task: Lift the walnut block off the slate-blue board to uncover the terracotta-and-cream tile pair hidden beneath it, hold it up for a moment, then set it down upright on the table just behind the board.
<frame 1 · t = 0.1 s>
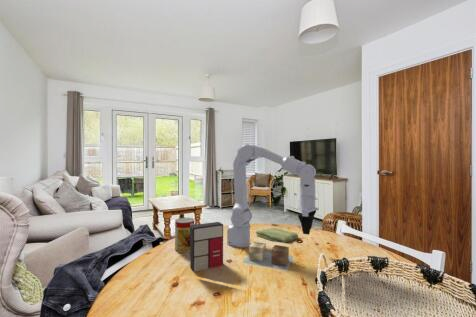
hand: (307, 231, 90), 10 cm above the table, tool pointing down, fingers open, 7 cm apart
canned food: (184, 248, 98), on the table
washcloth: (276, 238, 113), on the table
grey toy cabinet: (206, 269, 80), on the table
code board: (268, 261, 86), on the table
walnut block: (280, 262, 83), point 1 cm above the table, touching code board
birch block: (257, 258, 87), point 1 cm above the table, touching code board
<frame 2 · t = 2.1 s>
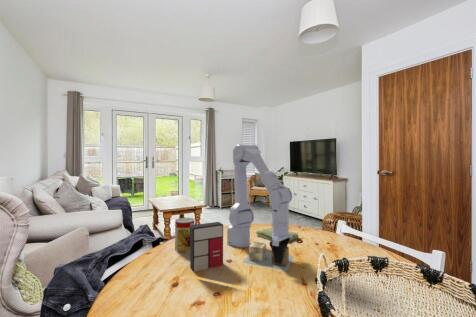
hand: (280, 259, 83), 2 cm above the table, tool pointing down, fingers closed on walnut block, 5 cm apart
walnut block: (280, 262, 83), point 1 cm above the table, touching code board, gripper
everything else where it was.
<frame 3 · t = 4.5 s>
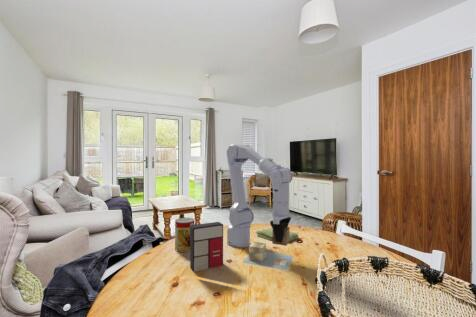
hand: (280, 239, 84), 9 cm above the table, tool pointing down, fingers closed on walnut block, 5 cm apart
walnut block: (281, 242, 84), point 8 cm above the table, touching gripper
everything else where it was.
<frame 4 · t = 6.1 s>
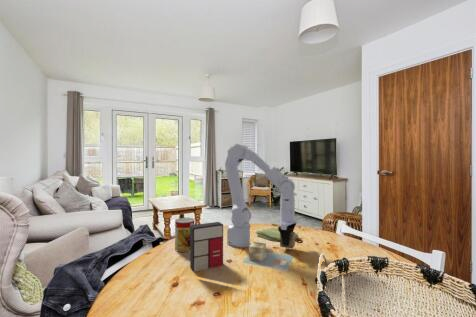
hand: (287, 242, 95), 4 cm above the table, tool pointing down, fingers closed on walnut block, 5 cm apart
walnut block: (287, 245, 95), point 3 cm above the table, touching gripper
everything else where it was.
when the fingers open (2 cm above the table, at t = 7.3 s): walnut block drops 1 cm, on the table.
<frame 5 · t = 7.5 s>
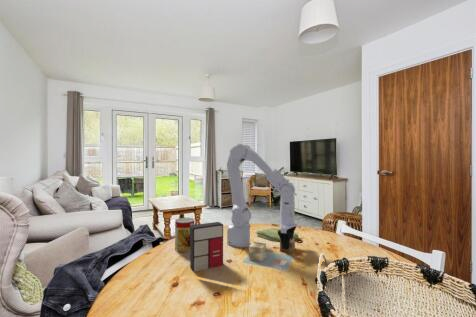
hand: (287, 246, 95), 2 cm above the table, tool pointing down, fingers open, 6 cm apart
walnut block: (287, 252, 95), on the table
everything else where it was.
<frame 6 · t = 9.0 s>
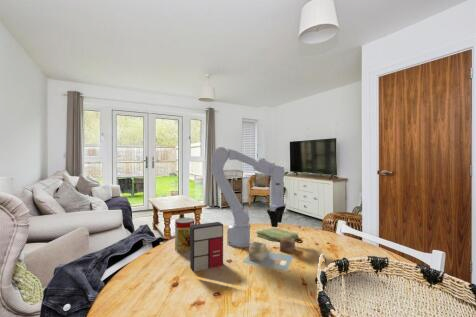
hand: (276, 224, 101), 9 cm above the table, tool pointing down, fingers open, 7 cm apart
nothing on the table moved.
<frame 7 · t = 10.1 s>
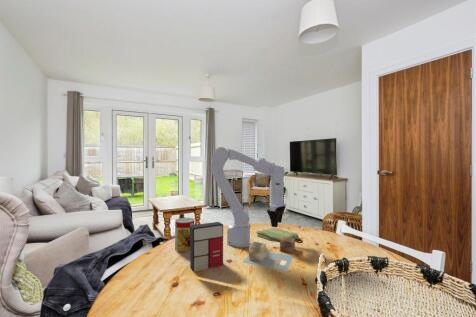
hand: (276, 224, 101), 9 cm above the table, tool pointing down, fingers open, 7 cm apart
nothing on the table moved.
at the end: walnut block 0.1 cm from the target spot, on the table; walnut block tilted 0°; birch block moved 0.0 cm from its start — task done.
